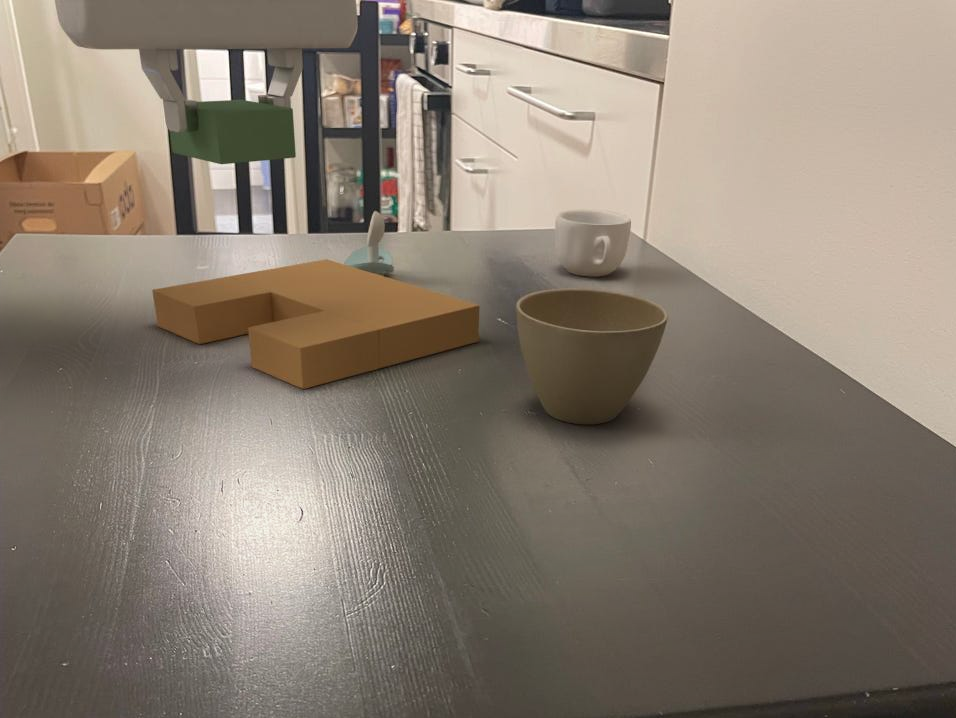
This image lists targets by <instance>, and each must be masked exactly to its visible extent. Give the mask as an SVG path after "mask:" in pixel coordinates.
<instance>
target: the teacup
mask: <svg viewBox="0 0 956 718" xmlns="http://www.w3.org/2000/svg"><path fill="white" fill-rule="evenodd" d="M554 223H555V225H554V239H555V240H554V247H555V253H556V257H557V259H558V261H559V263H560V265H561V266H562V267H563V268H564V269H565V270H566V271H567V272H568V273H570V274H572V275H576V276H580V277H581V276H582V277H604V276H608V275H610V274H611V273H613V272H614V271H616V270H617V269H618V268H619V267H620V265H621V264H622V262H623V261H624V259H625V256H626V253H627V251H628V246H629V241H630V236H631V235H630V234H631V230H632V229H631V228H632V220H631V218H630V216H628V215H625V214H622V213H619V212H615V211H610V210H609V211H608V210H599V209H570V210H563V211H560V212H558V213H557V214H556V217H555V222H554Z"/></svg>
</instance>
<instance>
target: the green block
mask: <svg viewBox="0 0 956 718" xmlns="http://www.w3.org/2000/svg"><path fill="white" fill-rule="evenodd" d="M197 105H198V109H197V118H198V124H199V127H198V130H197V131H191V132H174V131H169V137H170V144H171V152H172V153H173V154H176V155H180V156H185V157H188V158H193V159H197V160H202V161H204V162H209V163H213V164H218V165H230V164H239V163H240V164H241V163H252V162H263V161H272V160H273V161H274V160H286V159H294V158H296V157H297V153H296V139H295V138H296V137H295V124H294V109H293V108H292V107H291V108H288V107H282V106H276V105H270V104H264V103H259V101H258V102H257V101H251V100H247V99H228V100H227V99H226V100H206V101H204V100H203V101H197Z"/></svg>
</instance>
